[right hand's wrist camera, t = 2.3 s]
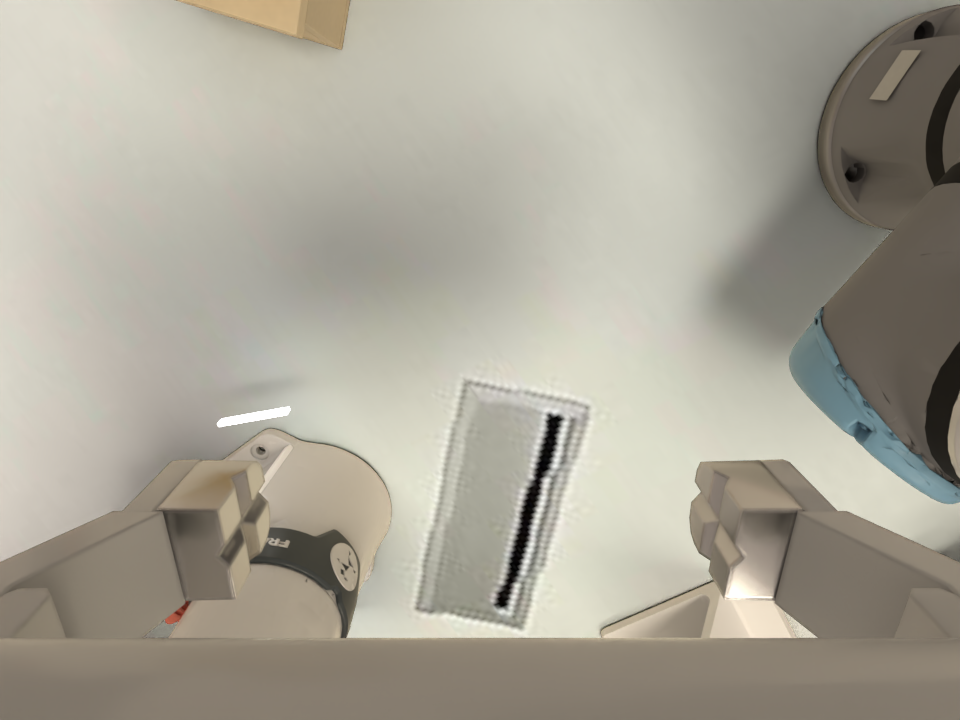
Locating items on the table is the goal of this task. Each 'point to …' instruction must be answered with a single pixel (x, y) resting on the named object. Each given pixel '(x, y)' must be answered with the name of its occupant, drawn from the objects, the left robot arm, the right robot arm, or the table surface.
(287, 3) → the lid
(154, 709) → the right robot arm
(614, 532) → the table surface
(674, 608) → the tablet stand
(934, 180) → the left robot arm
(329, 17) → the chest
